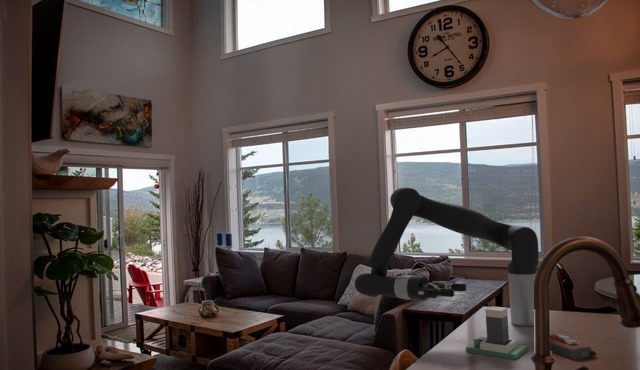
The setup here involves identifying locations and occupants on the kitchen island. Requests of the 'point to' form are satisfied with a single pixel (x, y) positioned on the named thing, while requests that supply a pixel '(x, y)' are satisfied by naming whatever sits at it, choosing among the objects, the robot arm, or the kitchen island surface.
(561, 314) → the kitchen island surface
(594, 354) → the walkie-talkie
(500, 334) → the grey and cream block
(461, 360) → the kitchen island surface
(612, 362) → the kitchen island surface
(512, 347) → the controller board
